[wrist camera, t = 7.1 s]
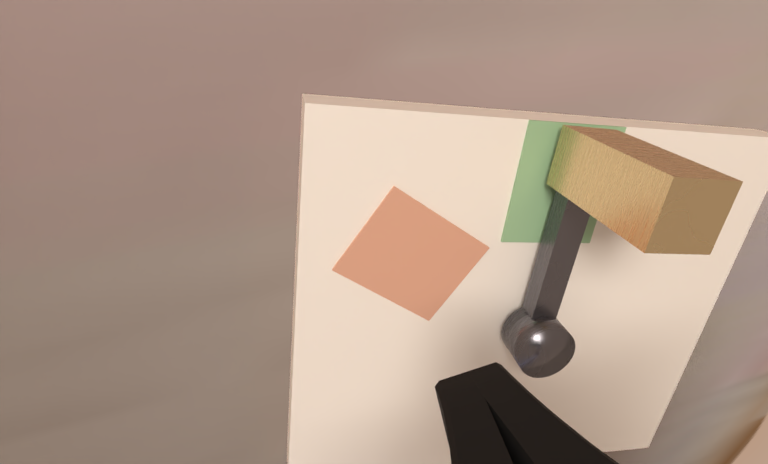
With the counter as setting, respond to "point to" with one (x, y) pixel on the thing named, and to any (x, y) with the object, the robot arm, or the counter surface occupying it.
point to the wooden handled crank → (611, 225)
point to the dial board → (479, 275)
